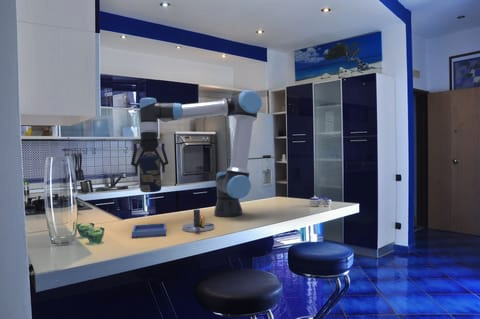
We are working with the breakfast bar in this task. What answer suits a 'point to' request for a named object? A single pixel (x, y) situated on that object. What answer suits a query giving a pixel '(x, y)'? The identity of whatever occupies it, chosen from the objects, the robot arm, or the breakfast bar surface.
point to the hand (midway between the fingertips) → (150, 180)
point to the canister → (150, 173)
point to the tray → (149, 230)
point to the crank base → (192, 229)
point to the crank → (197, 219)
